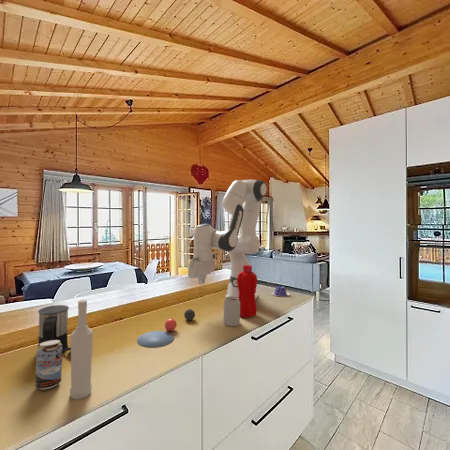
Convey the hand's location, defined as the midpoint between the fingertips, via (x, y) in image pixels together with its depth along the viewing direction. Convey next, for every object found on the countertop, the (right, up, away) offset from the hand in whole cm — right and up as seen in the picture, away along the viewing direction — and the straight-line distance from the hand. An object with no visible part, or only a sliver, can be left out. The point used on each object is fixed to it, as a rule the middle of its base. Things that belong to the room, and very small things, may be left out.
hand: (201, 283), depth 134 cm
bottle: (-27, -16, -63) cm, 70 cm away
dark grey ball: (-5, -13, -9) cm, 16 cm away
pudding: (+48, -16, +40) cm, 64 cm away
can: (+15, -16, -12) cm, 25 cm away
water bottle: (+23, -16, 0) cm, 28 cm away
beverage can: (-38, -16, -59) cm, 72 cm away
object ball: (-11, -13, -21) cm, 27 cm away
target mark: (-15, -15, -29) cm, 36 cm away
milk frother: (-45, -15, -40) cm, 62 cm away
